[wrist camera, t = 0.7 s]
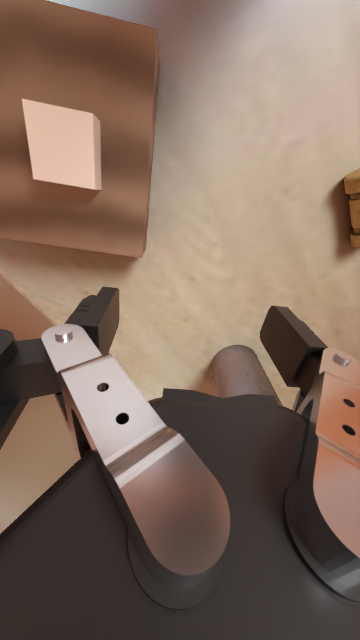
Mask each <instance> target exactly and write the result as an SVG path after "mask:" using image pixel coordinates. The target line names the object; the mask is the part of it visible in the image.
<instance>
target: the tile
mask: <svg viewBox="0 0 360 640" xmlns="http://www.w3.org/2000/svg"><path fill="white" fill-rule="evenodd" d="M22 104H23V111H24V118H25V124H26V131H27V138H28V145H29V152H30V159H31V166H32V172H33V179H36V180H42V181H47V182H53V183H59V184H65V185H71V186H77V187H83V188H89V189H94V190H101V138H100V120H99V119H98V118H97V117H96V116H95V115H94V114H93V113H89V112H84V111H79V110H74V109H69V108H65V107H60V106H55V105H50V104H45V103H41V102H36V101H31V100H26V99H22Z"/></svg>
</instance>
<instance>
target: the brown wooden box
mask: <svg viewBox="0 0 360 640" xmlns="http://www.w3.org/2000/svg"><path fill="white" fill-rule="evenodd" d="M159 65H160V63H159V49H158V34H157V29H154V28H150V27H147V26H143V25H139V24H135V23H131V22H127V21H123V20H119V19H116V18H112V17H108V16H104V15H100V14H96V13H92V12H88V11H85V10H81V9H77V8H73V7H69V6H65V5H61V4H57V3H54V2H50V1H46V0H0V238H3V239H10V240H17V241H24V242H32V243H39V244H46V245H53V246H60V247H67V248H75V249H82V250H89V251H96V252H103V253H110V254H118V255H125V256H132V257H139V258H142V256H143V254H144V251H145V249H146V240H147V227H148V213H149V200H150V186H151V173H152V159H153V146H154V132H155V119H156V105H157V92H158V78H159ZM22 99H26V100H31V101H36V102H41V103H45V104H50V105H55V106H60V107H65V108H69V109H74V110H79V111H84V112H89V113H93V114H94V115H95V116H96V117H97V118H98V119H99V120H100V138H101V190H94V189H89V188H83V187H77V186H71V185H65V184H59V183H53V182H47V181H42V180H36V179H33V172H32V166H31V159H30V152H29V145H28V138H27V131H26V124H25V118H24V111H23V104H22Z"/></svg>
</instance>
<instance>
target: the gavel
mask: <svg viewBox="0 0 360 640" xmlns="http://www.w3.org/2000/svg"><path fill="white" fill-rule="evenodd" d="M344 186H345V193H346V194H350V198H349V205H350V215H351V224H352V227H353V230H352V231H351V232H350V239H351V245H352V246H353V247H358V248H360V168H359V169H358V170H356V171H354V172H352V173H350V174H348V175H347V176H346V177H345V178H344Z"/></svg>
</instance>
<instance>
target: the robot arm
mask: <svg viewBox="0 0 360 640" xmlns="http://www.w3.org/2000/svg"><path fill="white" fill-rule="evenodd" d="M118 324H119V289H118V288H111V287H102V288H101V290H100V291H99V293H98V294H97V296H96V295H90V296H88V297H86V298H84V299H83V300H82V301H81V303H80V304H79V306H78V307H77V308H76V309H75V311H74V312H73V313H72V314H71V316H70V317H69V318H68V320H67V321H66V322H65V324H61V325H56V326H53V327H51V328H49V329H47V330H46V331H45V332H44V333H43V334H42V336H41V338H39V339H32V340H22V341H15V338H14V335H13V333H11V332H10V331H8V330H2V329H0V449H1V447H2V446H3V444H4V442H5V440H6V439H7V437H8V435H9V433H10V431H11V430H12V428H13V426H14V425H15V423H16V421H17V419H18V417H19V416H20V414H21V413H22V411H23V409H24V407H25V405H26V404H27V402H28V400H29V399H30V398H34V397H39V396H44V395H49V394H55V397H56V400H57V402H58V405H59V407H60V409H61V412H62V414H63V417H64V419H65V422H66V424H67V427H68V429H69V432H70V435H71V438H72V441H73V445H74V448H75V451H76V453H77V456H78V458H79V460H78V461H77V462H76V463H75V464H74V465H73V466H72V467H71V468H70V469H69V470H68V471H67V472H66V473H65V474H64V475H63V476H62V477H60V478H59V479H58V480H57V481H56V482H55V483H54V484H53V485H52V486H51V487H50V488H49V489H48V490H47V491H46V492H45V493H43V494H42V495H41V496H40V497H39V498H38V499H37V500H36V501H35V502H34V503H33V504H32V505H31V506H30V507H29V508H28V509H27V510H25V511H24V512H23V513H22V514H21V515H20V516H19V517H18V518H17V519H16V520H15V521H14V522H13V523H12V524H11V525H9V527H7V528H6V529H5V530H4V531H3V532H2V533H1V534H0V640H360V362H359V361H358V360H357V359H356V358H354V357H353V356H352V355H350V354H348V353H346V352H344V351H342V350H339V349H335V348H328V347H327V346H326V345H325V344H324V343H323V342H322V341H321V340H320V339H319V338H318V337H317V336H316V335H315V334H314V332H313V331H312V330H310V328H309V327H308V326H307V325H306V324H305V323H304V322H302V321H301V320H299V319H298V318H297V317H296V316H295V315H294V314H293V313H292V312H291V311H290V309H289V308H287V307H281V306H271V307H270V309H269V310H268V313H267V316H266V318H265V321H264V323H263V326H262V328H261V331H260V339H261V342H262V344H263V345H264V347H265V349H266V350H267V352H268V354H269V356H270V357H271V359H272V361H273V363H274V364H275V366H276V368H277V370H278V371H279V373H280V375H281V376H282V378H283V380H284V382H285V383H286V385H287V387H300V390H299V392H298V393H297V396H296V399H295V402H294V406H293V409H292V410H290V409H288V408H286V407H283V406H280V405H279V404H278V402H277V400H276V398H275V396H273V395H258V394H244V395H239V396H233V397H227V398H219V397H215V396H211V395H208V394H204V393H200V392H197V391H193V390H182V389H167V388H164V390H163V396H162V397H161V398H156V399H153V400H150V401H147V400H146V399H145V398H144V396H143V395H142V394H141V392H140V391H139V390H138V388H137V387H136V386H135V385H134V383H133V382H132V381H131V379H130V378H129V377H128V375H127V374H126V373H125V371H124V370H123V369H122V368H121V366H120V365H119V364H118V362H117V361H116V360H115V358H114V357H113V356H112V355H111V354H108V352H109V349H110V347H111V344H112V341H113V339H114V336H115V333H116V330H117V328H118Z"/></svg>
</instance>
